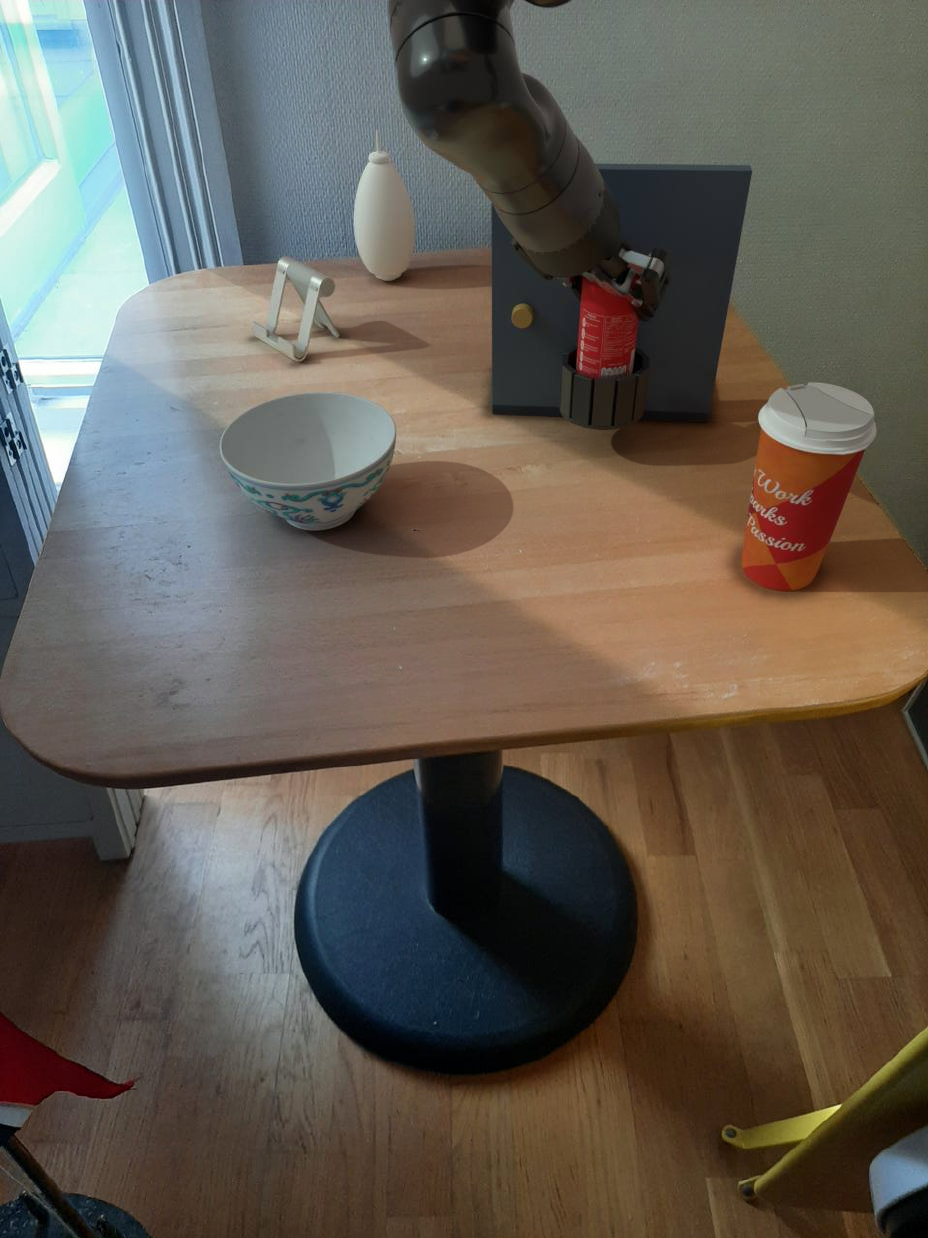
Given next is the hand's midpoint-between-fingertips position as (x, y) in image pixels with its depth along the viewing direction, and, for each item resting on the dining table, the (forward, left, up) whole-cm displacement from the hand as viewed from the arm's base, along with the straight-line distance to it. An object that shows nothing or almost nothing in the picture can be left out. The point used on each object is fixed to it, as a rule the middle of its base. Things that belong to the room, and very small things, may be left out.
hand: (619, 302), depth 82 cm
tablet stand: (+36, -19, -14) cm, 43 cm away
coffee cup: (-14, +19, -14) cm, 28 cm away
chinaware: (+26, +14, -14) cm, 33 cm away
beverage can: (+1, +2, -8) cm, 9 cm away
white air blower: (+29, -38, -14) cm, 49 cm away
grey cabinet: (+1, -4, -14) cm, 14 cm away
